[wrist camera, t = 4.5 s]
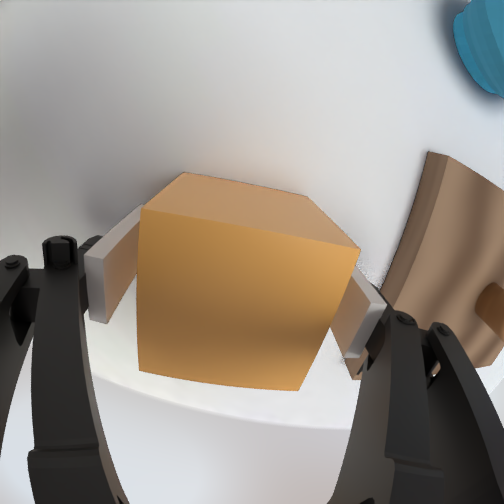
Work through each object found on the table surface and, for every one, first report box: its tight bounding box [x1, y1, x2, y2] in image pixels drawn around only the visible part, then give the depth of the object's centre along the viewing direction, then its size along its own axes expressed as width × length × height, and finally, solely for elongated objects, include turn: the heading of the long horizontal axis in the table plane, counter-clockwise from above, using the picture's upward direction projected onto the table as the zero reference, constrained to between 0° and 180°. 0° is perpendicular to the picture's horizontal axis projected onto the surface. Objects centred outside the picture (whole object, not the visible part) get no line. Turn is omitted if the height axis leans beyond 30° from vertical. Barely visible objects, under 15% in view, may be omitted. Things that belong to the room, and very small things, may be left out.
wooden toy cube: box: [136, 172, 361, 391], centre depth 12 cm, size 6×6×7 cm
